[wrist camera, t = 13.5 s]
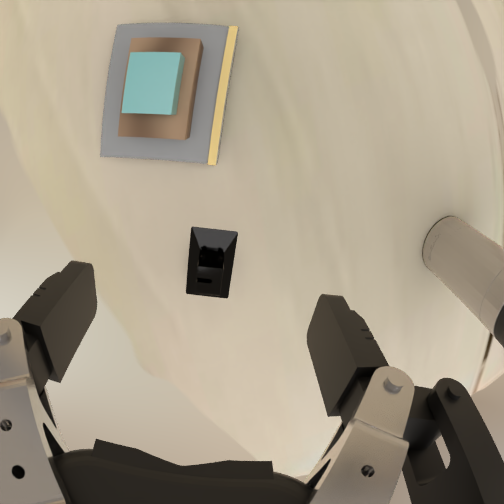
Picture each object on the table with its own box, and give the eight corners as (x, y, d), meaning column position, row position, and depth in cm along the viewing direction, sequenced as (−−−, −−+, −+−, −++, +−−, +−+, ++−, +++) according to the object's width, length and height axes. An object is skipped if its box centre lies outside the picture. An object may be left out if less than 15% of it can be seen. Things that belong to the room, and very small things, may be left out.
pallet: (203, 47, 22) (200, 38, 19) (189, 137, 26) (185, 140, 23) (142, 45, 22) (131, 38, 19) (129, 133, 25) (117, 136, 22)
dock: (237, 37, 25) (239, 26, 22) (218, 159, 31) (216, 165, 27) (129, 33, 24) (116, 23, 20) (113, 151, 30) (99, 157, 26)
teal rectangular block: (185, 58, 20) (180, 52, 18) (176, 114, 22) (171, 114, 20) (138, 57, 19) (130, 52, 17) (130, 112, 22) (121, 113, 19)
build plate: (186, 211, 34) (181, 225, 30) (248, 219, 36) (251, 233, 31) (180, 299, 40) (176, 320, 35) (233, 305, 41) (235, 326, 36)
